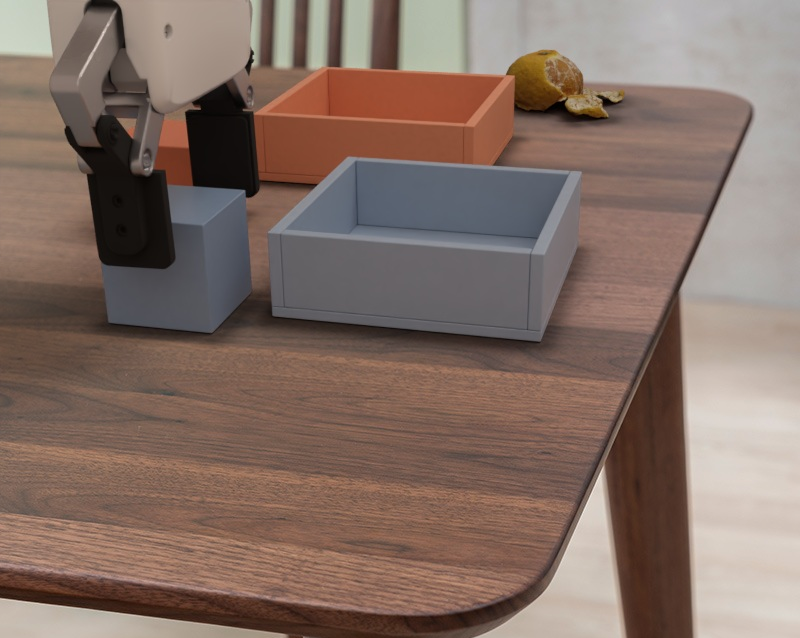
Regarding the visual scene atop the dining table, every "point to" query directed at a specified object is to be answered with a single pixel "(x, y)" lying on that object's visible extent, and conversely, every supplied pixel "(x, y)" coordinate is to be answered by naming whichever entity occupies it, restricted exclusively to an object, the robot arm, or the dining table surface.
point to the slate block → (189, 266)
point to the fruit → (555, 85)
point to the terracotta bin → (383, 121)
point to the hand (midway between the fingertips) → (185, 227)
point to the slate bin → (428, 247)
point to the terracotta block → (173, 153)
